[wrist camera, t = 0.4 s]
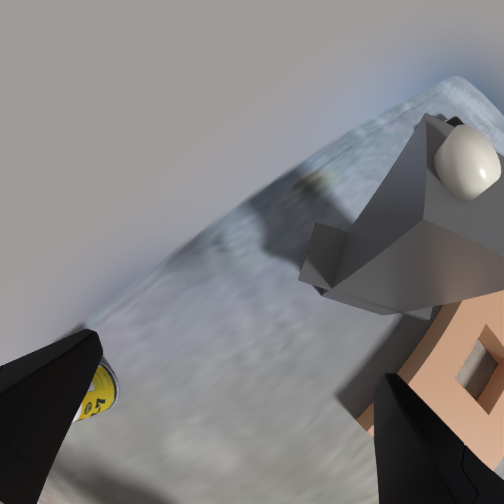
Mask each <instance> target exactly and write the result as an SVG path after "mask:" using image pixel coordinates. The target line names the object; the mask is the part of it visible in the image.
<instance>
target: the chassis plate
mask: <svg viewBox="0 0 504 504" xmlns="http://www.w3.org/2000/svg"><path fill="white" fill-rule="evenodd" d="M477 340H479V341H480V342H481V343H482V344H483V346H484V347H485V348H486V349H487V351H488V352H489V353H490V354H491V356H492V357H493V358H494V360H495V361H496V362H497V363H498V365H497V367H496V369H495V371H494V373H493V374H492V376H491V378H490V380H489V381H488V383H487V385H486V387H485V388H484V390H483V392H482V393H481V395H480V396H479V398H478V400H477V401H475V400H474V398H473V397H472V396H471V395H470V394H469V393H468V392H467V391H466V390H465V389H464V388H463V386H462V385H461V384H460V383H459V382H458V381H457V380H456V379H455V377H456V375H457V374H458V372H459V371H460V369H461V367H462V366H463V364H464V362H465V361H466V359H467V357H468V356H469V354H470V352H471V350H472V349H473V347H474V345H475V343H476V341H477ZM397 374H398V375H399V376H400V377H401V378H402V379H403V380H404V381H405V382H406V383H407V384H408V385H409V386H410V387H411V388H412V389H413V390H414V391H415V392H416V393H417V394H418V395H419V396H420V397H421V398H422V399H423V400H424V402H425V403H426V404H427V405H428V406H429V407H430V408H431V409H432V410H433V411H434V412H435V413H436V414H437V415H438V416H439V417H440V418H441V419H442V420H443V421H444V422H445V423H446V424H447V425H448V426H449V427H450V429H451V430H452V431H453V432H454V433H455V434H456V435H457V436H458V437H459V438H460V439H461V440H462V441H463V442H464V445H467V446H468V447H469V448H470V450H471V451H472V452H473V453H474V454H475V455H476V456H477V457H478V458H479V459H480V460H481V461H482V462H483V463H485V464H486V465H487V466H488V467H489V468H490V469H491V470H492V471H493V470H494V469H495V468H496V466H497V465H498V464H499V462H500V461H501V460H502V458H503V457H504V290H502V291H499V292H495V293H491V294H487V295H483V296H479V297H475V298H471V299H467V300H462V301H458V302H453V303H449V304H444V305H443V306H442V308H441V310H440V311H439V313H438V315H437V316H436V318H435V320H434V321H433V323H432V324H431V326H430V327H429V329H428V330H427V332H426V334H425V335H424V336H423V338H422V339H421V341H420V342H419V344H418V345H417V347H416V348H415V349H414V351H413V352H412V354H411V355H410V356H409V358H408V359H407V360H406V362H405V363H404V364H403V366H402V367H401V368H400V370H399V371H398V372H397ZM356 421H357V422H358V423H359V424H360V425H361V426H362V427H363V428H364V429H365V430H366V431H367V432H368V433H369V434H370V435H372V436H373V437H374V408H373V402H372V403H371V404H370V405H369V407H368V408H367V409H366V410H365V411H364V412H363V413H362V414H361V415H360V416H359V417H358V418H357V419H356Z"/></svg>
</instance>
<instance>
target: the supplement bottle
mask: <svg viewBox="0 0 504 504" xmlns="http://www.w3.org/2000/svg"><path fill="white" fill-rule="evenodd" d="M118 396H119V386H118V382H117V379H116V377H115V375H114V374H113V372H112V371H111V370H110V369H109V368H108V367H107V366H106V365H105V364H103V363H101V362H100V363H99V366H98V368H97V370H96V373H95V375H94V378H93V380H92V383H91V385H90V387H89V390H88V392H87V394H86V396H85V398H84V400H83V402H82V404H81V406H80V408H79V410H78V412H77V414H76V415H75V417H74V419H73V422H72V423H74V422H77V421H79V420H82V419H85V418H87V417H90V416H93V415H95V414H98V413H100V412H103V411H105V410H108V409H110V408H111V407H113V406H114V404H115V403H116V401H117V399H118Z"/></svg>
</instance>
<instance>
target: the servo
mask: <svg viewBox="0 0 504 504" xmlns="http://www.w3.org/2000/svg"><path fill="white" fill-rule="evenodd" d="M298 280H299V281H302V282H305V283H308V284H311V285H314V286H317V287H320V288H323V289H324V290H323V293H322V296H323V297H326V298H329V299H333V300H336V301H339V302H342V303H345V304H348V305H351V306H355V307H358V308H361V309H364V310H367V311H371V312H374V313H377V314H380V315H390V314H396V313H402V314H405V315H408V316H412V317H415V318H418V319H421V320H424V321H425V320H430V317H431V313H432V308H433V307H434V306H439V305H444V304H449V303H453V302H458V301H462V300H467V299H471V298H475V297H479V296H483V295H487V294H491V293H495V292H499V291H502V290H504V157H503V156H502V155H500V154H499V153H497V152H496V151H495V150H494V148H493V146H492V145H491V144H490V142H489V141H488V140H487V139H486V138H485V137H484V136H483V135H482V134H481V133H480V132H479V131H477V130H476V129H474V128H472V127H470V126H467V125H458V126H456V127H453V126H451V125H449V124H448V123H446V122H444V121H442V120H440V119H438V118H436V117H433V116H431V115H429V114H427V113H425V114H424V116H423V118H422V120H421V121H420V123H419V125H418V126H417V128H416V130H415V131H414V133H413V135H412V136H411V138H410V139H409V141H408V143H407V144H406V146H405V148H404V149H403V151H402V152H401V154H400V156H399V157H398V159H397V160H396V162H395V163H394V165H393V166H392V168H391V170H390V171H389V173H388V174H387V176H386V177H385V179H384V180H383V182H382V183H381V185H380V186H379V188H378V189H377V191H376V192H375V194H374V195H373V197H372V198H371V200H370V201H369V202H368V204H367V205H366V207H365V208H364V210H363V211H362V213H361V214H360V215H359V217H358V218H357V220H356V221H355V222H354V224H353V225H352V227H351V228H350V229H349V231H348V232H344V231H341V230H338V229H335V228H332V227H329V226H326V225H323V224H319V223H316V224H315V227H314V230H313V233H312V237H311V240H310V243H309V247H308V250H307V253H306V256H305V259H304V263H303V266H302V269H301V272H300V275H299V278H298Z"/></svg>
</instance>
